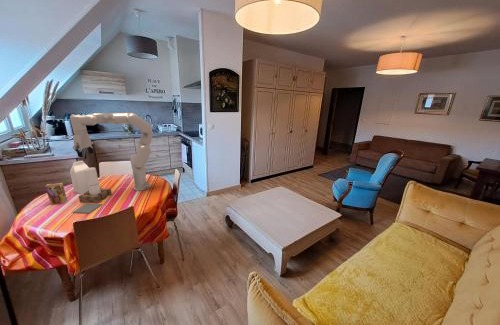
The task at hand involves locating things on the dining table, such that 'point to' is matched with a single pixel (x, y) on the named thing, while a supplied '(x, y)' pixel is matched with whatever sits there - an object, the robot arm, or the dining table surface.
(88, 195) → the collar
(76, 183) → the milk
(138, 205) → the dining table surface
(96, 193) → the cylindrical container
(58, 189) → the candy box
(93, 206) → the mat
